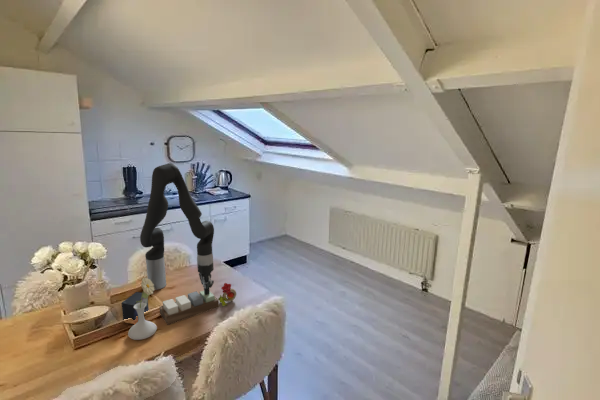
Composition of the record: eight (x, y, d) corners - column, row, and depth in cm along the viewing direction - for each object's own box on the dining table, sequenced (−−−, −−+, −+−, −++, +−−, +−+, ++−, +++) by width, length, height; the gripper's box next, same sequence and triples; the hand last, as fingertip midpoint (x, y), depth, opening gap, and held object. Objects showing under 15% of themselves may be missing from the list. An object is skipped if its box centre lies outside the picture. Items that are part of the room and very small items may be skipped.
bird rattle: (229, 302, 176) (213, 300, 170) (236, 282, 176) (221, 280, 170) (234, 307, 171) (218, 306, 165) (241, 287, 171) (226, 285, 165)
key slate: (188, 302, 166) (187, 293, 165) (196, 299, 169) (196, 291, 168) (194, 309, 160) (194, 300, 159) (203, 306, 163) (202, 297, 162)
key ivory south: (163, 310, 159) (162, 301, 158) (172, 307, 162) (172, 298, 161) (169, 317, 153) (168, 309, 152) (178, 314, 156) (178, 305, 155)
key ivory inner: (176, 306, 163) (175, 297, 162) (185, 303, 165) (184, 294, 164) (182, 313, 157) (181, 304, 156) (191, 310, 159) (190, 301, 158)
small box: (135, 325, 151) (133, 304, 149) (122, 323, 152) (120, 302, 150) (150, 312, 161) (148, 293, 159) (138, 311, 162) (135, 291, 160)
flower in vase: (143, 345, 138) (137, 290, 132) (122, 338, 142) (115, 284, 136) (165, 327, 150) (161, 276, 144) (145, 322, 154) (140, 271, 148)
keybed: (160, 314, 160) (159, 306, 159) (209, 298, 175) (209, 291, 174) (167, 325, 152) (166, 317, 151) (218, 307, 167) (218, 299, 166)
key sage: (199, 299, 170) (199, 291, 169) (208, 297, 173) (207, 289, 172) (206, 306, 164) (206, 298, 163) (214, 303, 167) (214, 295, 166)
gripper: (192, 259, 166) (194, 291, 170) (203, 268, 156) (205, 301, 160) (206, 255, 171) (208, 286, 175) (218, 264, 161) (219, 297, 165)
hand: (206, 293), depth 167 cm, fingers closed
